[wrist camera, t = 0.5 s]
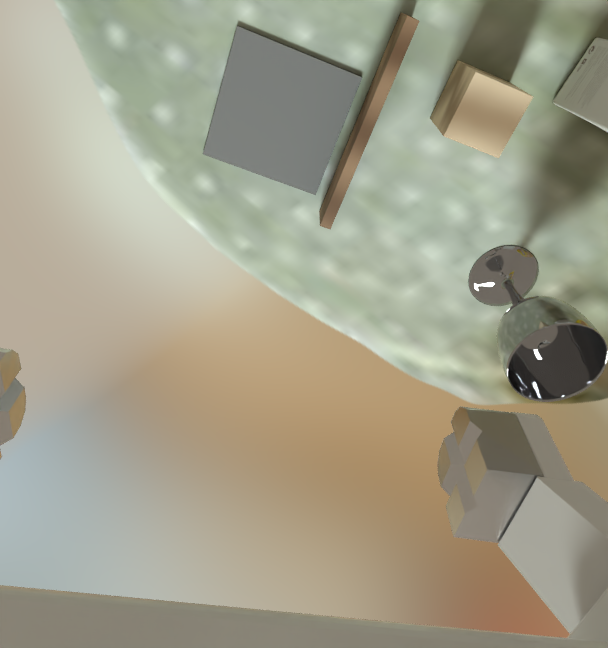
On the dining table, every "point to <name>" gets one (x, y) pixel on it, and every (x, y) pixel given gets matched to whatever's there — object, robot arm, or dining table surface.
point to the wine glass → (537, 329)
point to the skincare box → (588, 86)
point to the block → (479, 109)
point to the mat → (279, 111)
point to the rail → (368, 116)
